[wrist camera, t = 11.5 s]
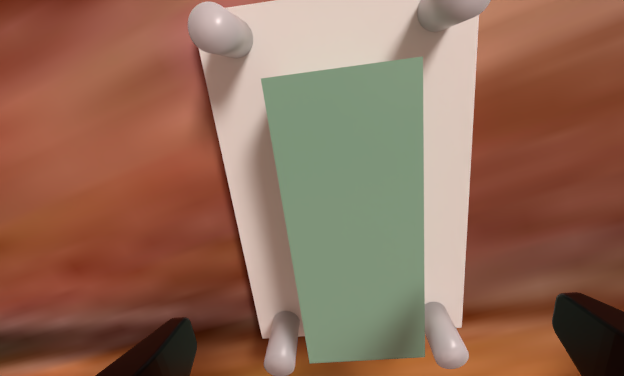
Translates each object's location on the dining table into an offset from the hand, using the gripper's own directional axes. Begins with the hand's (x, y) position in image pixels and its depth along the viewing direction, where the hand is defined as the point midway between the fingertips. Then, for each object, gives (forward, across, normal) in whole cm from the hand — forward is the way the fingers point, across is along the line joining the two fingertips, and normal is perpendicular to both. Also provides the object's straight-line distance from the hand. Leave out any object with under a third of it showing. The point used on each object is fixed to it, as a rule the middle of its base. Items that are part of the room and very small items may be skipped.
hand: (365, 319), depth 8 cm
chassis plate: (+10, 0, 0) cm, 10 cm away
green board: (+9, 0, 0) cm, 9 cm away
